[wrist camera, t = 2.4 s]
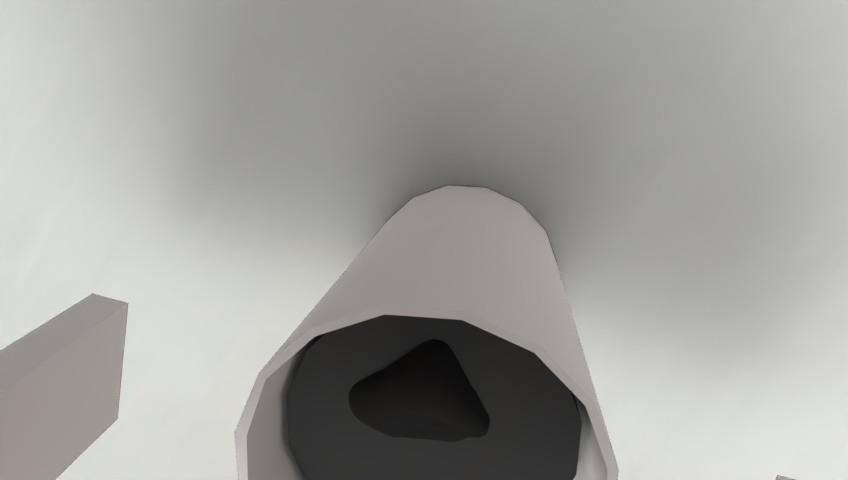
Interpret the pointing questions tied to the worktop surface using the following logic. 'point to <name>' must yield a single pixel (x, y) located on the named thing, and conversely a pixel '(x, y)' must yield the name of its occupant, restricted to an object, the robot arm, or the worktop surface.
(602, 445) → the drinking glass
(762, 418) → the worktop surface
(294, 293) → the worktop surface
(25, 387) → the robot arm
